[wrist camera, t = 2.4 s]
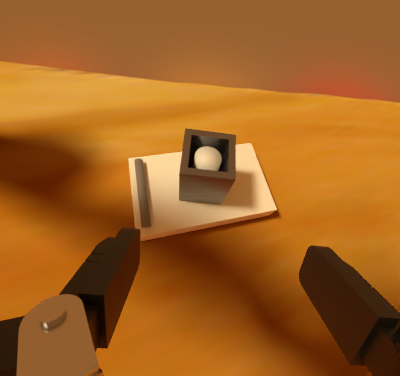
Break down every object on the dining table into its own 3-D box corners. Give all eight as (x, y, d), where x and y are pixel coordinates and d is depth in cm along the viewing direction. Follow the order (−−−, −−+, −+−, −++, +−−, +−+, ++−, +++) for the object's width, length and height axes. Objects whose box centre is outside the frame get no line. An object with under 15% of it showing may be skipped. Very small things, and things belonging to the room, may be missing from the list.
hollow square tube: (220, 204, 28) (235, 179, 21) (178, 200, 28) (179, 173, 21) (222, 168, 31) (235, 135, 24) (183, 163, 30) (185, 128, 23)
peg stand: (139, 241, 28) (121, 224, 19) (132, 168, 33) (115, 126, 24) (268, 215, 32) (305, 190, 23) (245, 153, 36) (268, 111, 27)
